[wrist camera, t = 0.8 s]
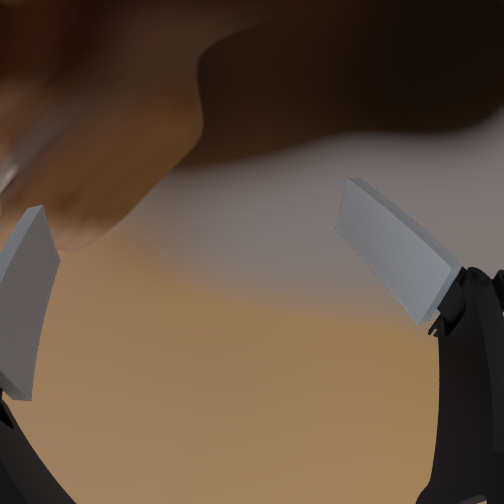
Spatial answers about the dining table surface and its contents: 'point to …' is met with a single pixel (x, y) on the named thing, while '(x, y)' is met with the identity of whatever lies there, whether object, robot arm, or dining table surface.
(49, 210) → the dining table surface
